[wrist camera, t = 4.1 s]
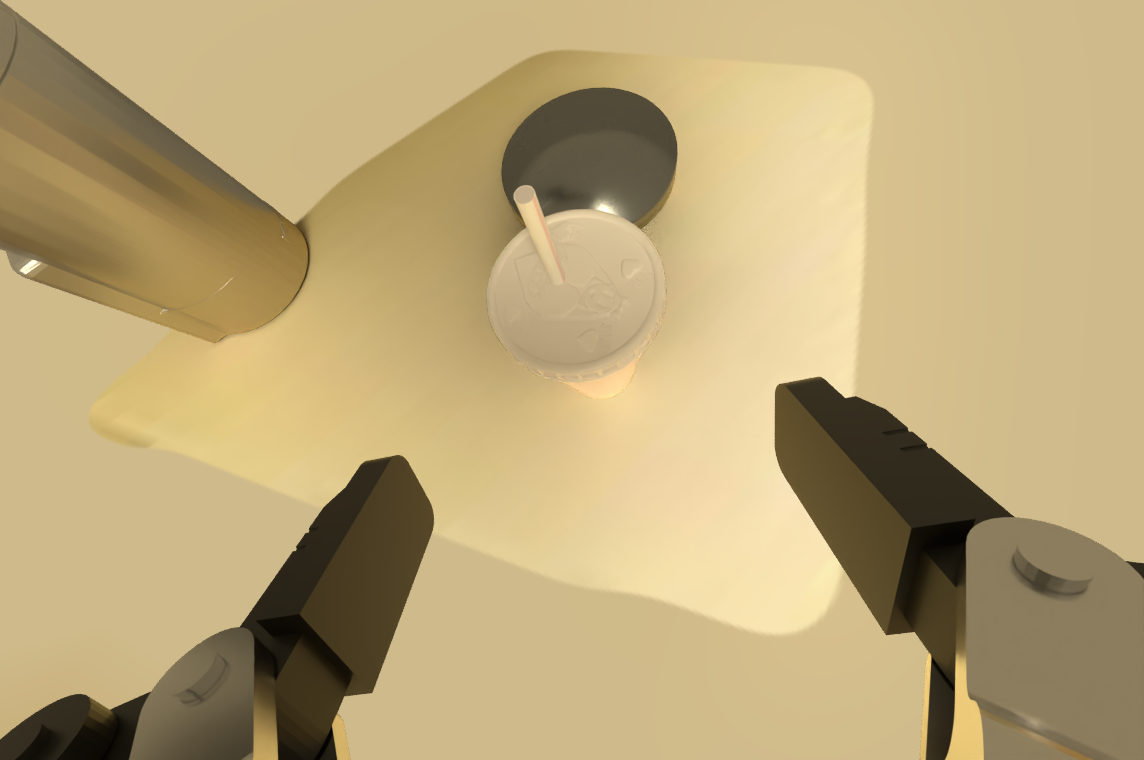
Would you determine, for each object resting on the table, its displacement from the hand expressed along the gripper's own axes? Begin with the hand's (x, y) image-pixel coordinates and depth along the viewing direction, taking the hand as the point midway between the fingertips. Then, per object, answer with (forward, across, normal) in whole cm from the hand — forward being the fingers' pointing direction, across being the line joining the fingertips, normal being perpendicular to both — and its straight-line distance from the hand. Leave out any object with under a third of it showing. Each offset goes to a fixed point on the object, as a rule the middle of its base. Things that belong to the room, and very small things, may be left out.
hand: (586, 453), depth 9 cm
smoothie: (+14, 0, +5) cm, 15 cm away
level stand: (+22, -2, -3) cm, 22 cm away
